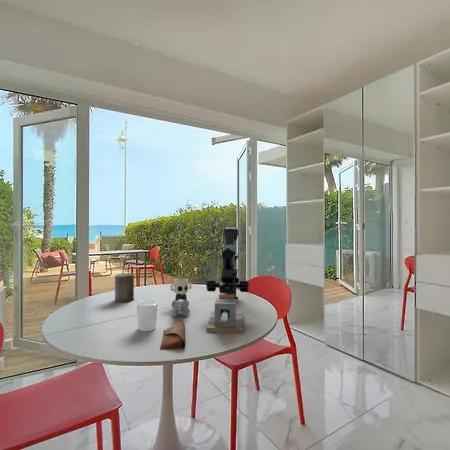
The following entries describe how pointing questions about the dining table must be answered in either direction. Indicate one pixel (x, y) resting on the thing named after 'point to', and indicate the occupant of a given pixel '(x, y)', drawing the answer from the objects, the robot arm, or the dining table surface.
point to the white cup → (147, 315)
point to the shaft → (225, 312)
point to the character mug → (181, 288)
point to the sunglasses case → (174, 337)
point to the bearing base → (226, 329)
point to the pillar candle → (124, 287)
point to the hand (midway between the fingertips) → (226, 303)
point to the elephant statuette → (180, 307)
